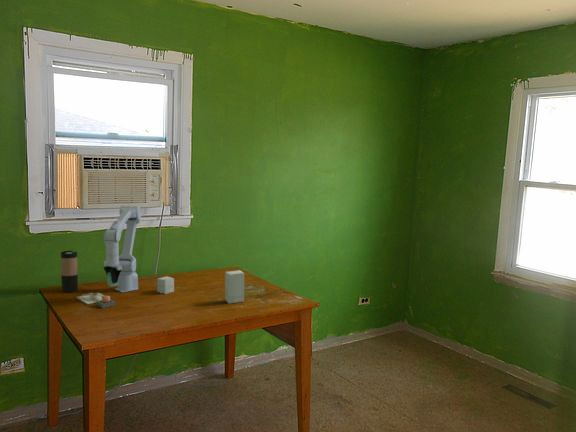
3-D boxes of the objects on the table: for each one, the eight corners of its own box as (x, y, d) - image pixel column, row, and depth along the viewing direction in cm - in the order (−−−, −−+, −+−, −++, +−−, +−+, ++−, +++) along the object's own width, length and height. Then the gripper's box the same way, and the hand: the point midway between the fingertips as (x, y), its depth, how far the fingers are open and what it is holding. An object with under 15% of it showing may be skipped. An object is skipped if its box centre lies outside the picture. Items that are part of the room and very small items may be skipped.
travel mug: (62, 293, 243) (60, 254, 240) (61, 289, 250) (60, 251, 247) (78, 291, 246) (77, 253, 244) (77, 288, 253) (76, 250, 251)
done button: (108, 301, 228) (107, 295, 228) (111, 303, 226) (111, 296, 226) (100, 302, 226) (100, 296, 226) (104, 304, 223) (103, 298, 223)
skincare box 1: (166, 289, 255) (166, 275, 254) (174, 291, 252) (174, 277, 251) (157, 292, 250) (157, 278, 249) (165, 294, 247) (165, 280, 246)
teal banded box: (114, 283, 238) (114, 271, 238) (118, 285, 236) (117, 273, 235) (107, 284, 236) (107, 272, 235) (110, 286, 233) (110, 274, 233)
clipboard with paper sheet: (99, 293, 245) (99, 291, 245) (112, 300, 235) (112, 298, 235) (74, 297, 236) (74, 295, 236) (87, 305, 226) (87, 303, 226)
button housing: (109, 302, 230) (109, 298, 230) (115, 305, 226) (115, 301, 226) (96, 305, 226) (96, 301, 226) (102, 308, 222) (102, 304, 222)
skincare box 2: (240, 298, 243) (240, 269, 241) (244, 302, 238) (245, 272, 236) (224, 300, 240) (224, 271, 238) (228, 304, 234) (228, 273, 232)
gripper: (97, 253, 236) (98, 280, 238) (111, 258, 226) (112, 286, 228) (111, 251, 241) (111, 277, 243) (125, 256, 231) (126, 283, 233)
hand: (112, 281), depth 236 cm, fingers closed on teal banded box, 4 cm apart
